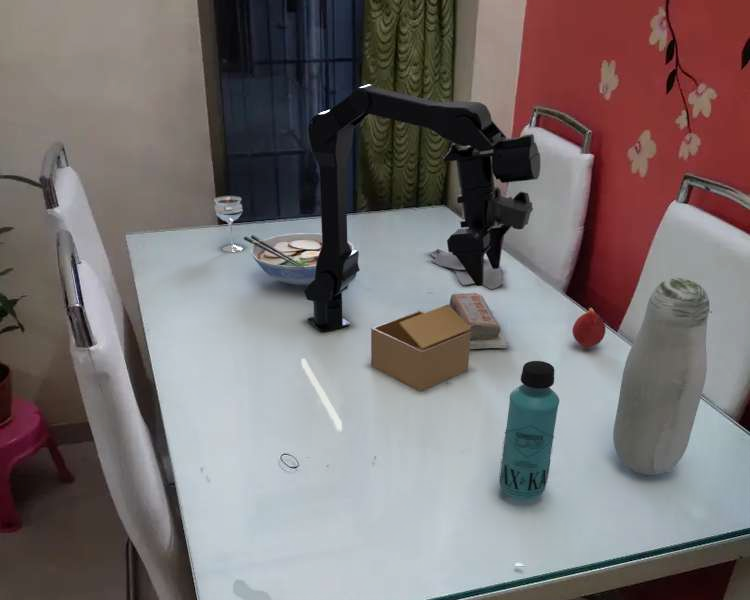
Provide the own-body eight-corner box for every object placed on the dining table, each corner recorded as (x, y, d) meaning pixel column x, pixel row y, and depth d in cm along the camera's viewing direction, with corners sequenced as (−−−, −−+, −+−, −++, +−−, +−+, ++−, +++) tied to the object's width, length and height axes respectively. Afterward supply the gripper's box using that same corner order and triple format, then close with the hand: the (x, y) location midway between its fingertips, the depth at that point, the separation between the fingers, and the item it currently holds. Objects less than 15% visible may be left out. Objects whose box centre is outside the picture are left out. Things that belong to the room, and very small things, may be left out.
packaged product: (440, 291, 158) (489, 289, 159) (439, 313, 161) (487, 312, 162) (457, 328, 143) (510, 326, 144) (455, 352, 146) (507, 349, 147)
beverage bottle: (492, 483, 110) (505, 355, 100) (539, 481, 111) (557, 353, 100) (503, 511, 105) (518, 378, 94) (551, 508, 106) (572, 376, 95)
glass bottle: (694, 479, 111) (744, 292, 96) (630, 491, 109) (672, 301, 94) (654, 443, 119) (695, 265, 104) (594, 453, 117) (627, 273, 102)
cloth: (524, 284, 174) (525, 275, 173) (468, 292, 170) (469, 282, 169) (473, 248, 195) (474, 239, 194) (422, 255, 191) (423, 245, 190)
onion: (604, 345, 148) (611, 305, 144) (598, 357, 144) (605, 317, 140) (574, 339, 150) (580, 300, 146) (567, 351, 146) (572, 311, 142)
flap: (470, 329, 135) (471, 328, 135) (422, 349, 129) (422, 347, 129) (447, 305, 137) (448, 304, 137) (398, 323, 131) (399, 322, 131)
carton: (468, 370, 140) (471, 332, 136) (420, 391, 133) (422, 352, 129) (418, 347, 148) (419, 310, 144) (371, 366, 141) (371, 328, 137)
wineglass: (219, 244, 198) (214, 196, 191) (246, 243, 198) (242, 195, 192) (218, 253, 192) (212, 203, 185) (245, 252, 193) (241, 203, 186)
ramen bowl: (377, 287, 173) (377, 250, 169) (286, 310, 162) (284, 272, 158) (319, 255, 191) (318, 222, 186) (233, 274, 180) (230, 239, 175)
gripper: (507, 194, 119) (517, 293, 127) (539, 168, 133) (546, 257, 141) (439, 201, 124) (453, 295, 132) (477, 174, 139) (487, 261, 146)
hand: (488, 276), depth 137 cm, fingers open, 9 cm apart
